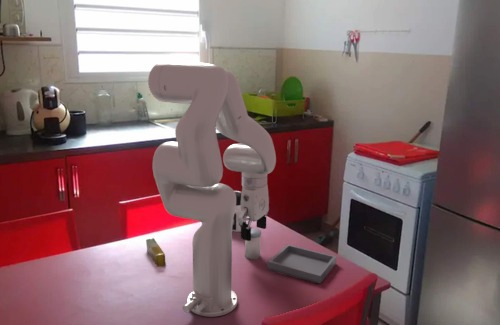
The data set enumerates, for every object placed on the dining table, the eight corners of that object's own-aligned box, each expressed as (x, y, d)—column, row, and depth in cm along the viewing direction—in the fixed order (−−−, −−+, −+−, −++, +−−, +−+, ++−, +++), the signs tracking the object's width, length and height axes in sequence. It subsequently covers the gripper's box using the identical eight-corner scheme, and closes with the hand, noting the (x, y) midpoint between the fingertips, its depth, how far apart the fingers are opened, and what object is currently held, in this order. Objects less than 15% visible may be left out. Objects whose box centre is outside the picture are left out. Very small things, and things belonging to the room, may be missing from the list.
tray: (319, 284, 123) (320, 276, 122) (267, 269, 130) (268, 261, 130) (336, 264, 134) (336, 256, 134) (287, 251, 142) (287, 244, 141)
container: (245, 232, 156) (246, 196, 153) (223, 231, 156) (223, 196, 153) (246, 223, 163) (246, 189, 160) (225, 223, 164) (225, 189, 160)
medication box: (146, 250, 141) (145, 239, 140) (154, 249, 142) (154, 237, 141) (157, 267, 131) (156, 255, 130) (166, 265, 132) (165, 253, 131)
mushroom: (255, 261, 135) (256, 236, 133) (241, 257, 138) (241, 232, 136) (263, 254, 140) (264, 230, 138) (249, 250, 142) (249, 227, 140)
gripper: (251, 191, 124) (250, 247, 128) (278, 174, 138) (277, 226, 143) (228, 186, 127) (228, 241, 132) (257, 171, 142) (256, 221, 146)
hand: (253, 233), depth 137 cm, fingers open, 9 cm apart
